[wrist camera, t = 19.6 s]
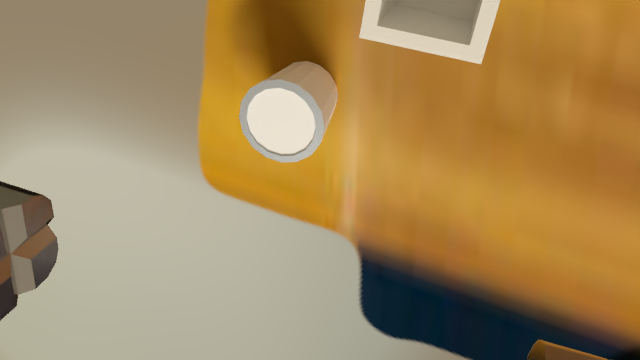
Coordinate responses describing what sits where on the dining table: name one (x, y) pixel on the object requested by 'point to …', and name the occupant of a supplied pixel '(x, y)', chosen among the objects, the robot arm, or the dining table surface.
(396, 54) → the dining table surface
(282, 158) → the tan cylinder
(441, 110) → the dining table surface
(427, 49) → the deep box
